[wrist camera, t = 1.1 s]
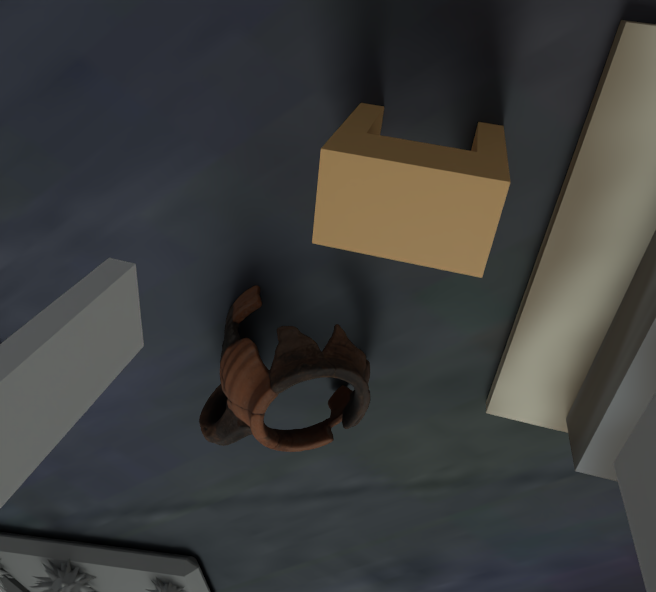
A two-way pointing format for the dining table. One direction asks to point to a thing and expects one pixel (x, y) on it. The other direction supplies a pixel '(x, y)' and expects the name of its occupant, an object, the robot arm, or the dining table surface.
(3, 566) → the decorative plate
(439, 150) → the clip
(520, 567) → the dining table surface
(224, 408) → the pottery mug
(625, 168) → the rail block
